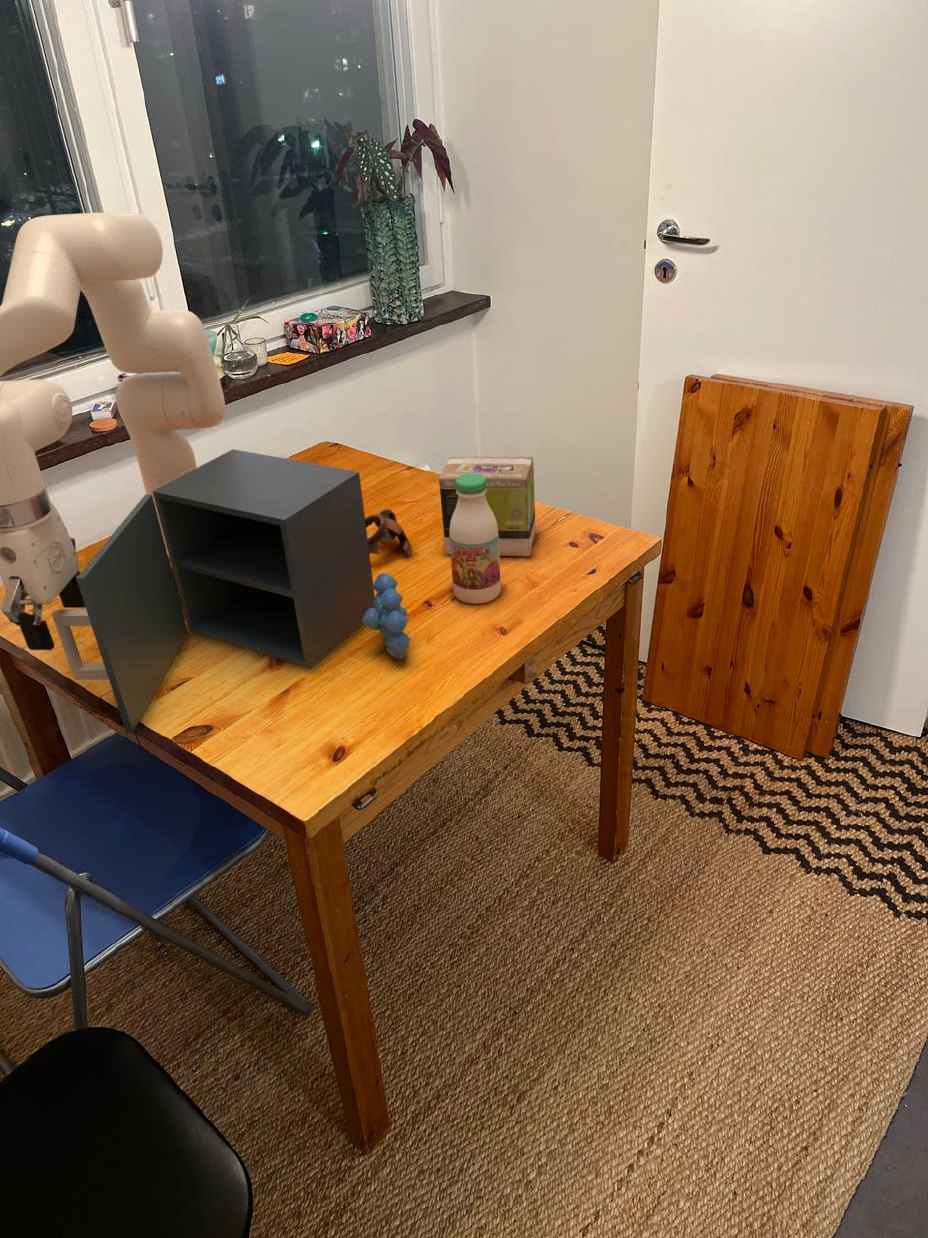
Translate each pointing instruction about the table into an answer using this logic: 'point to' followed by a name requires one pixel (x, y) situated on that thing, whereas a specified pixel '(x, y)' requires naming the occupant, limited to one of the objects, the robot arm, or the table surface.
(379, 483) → the table surface
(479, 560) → the milk bottle
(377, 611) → the grapes
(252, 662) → the table surface
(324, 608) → the cupboard
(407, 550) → the brown curved legged piece
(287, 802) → the table surface
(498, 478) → the tea box
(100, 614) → the cupboard door
